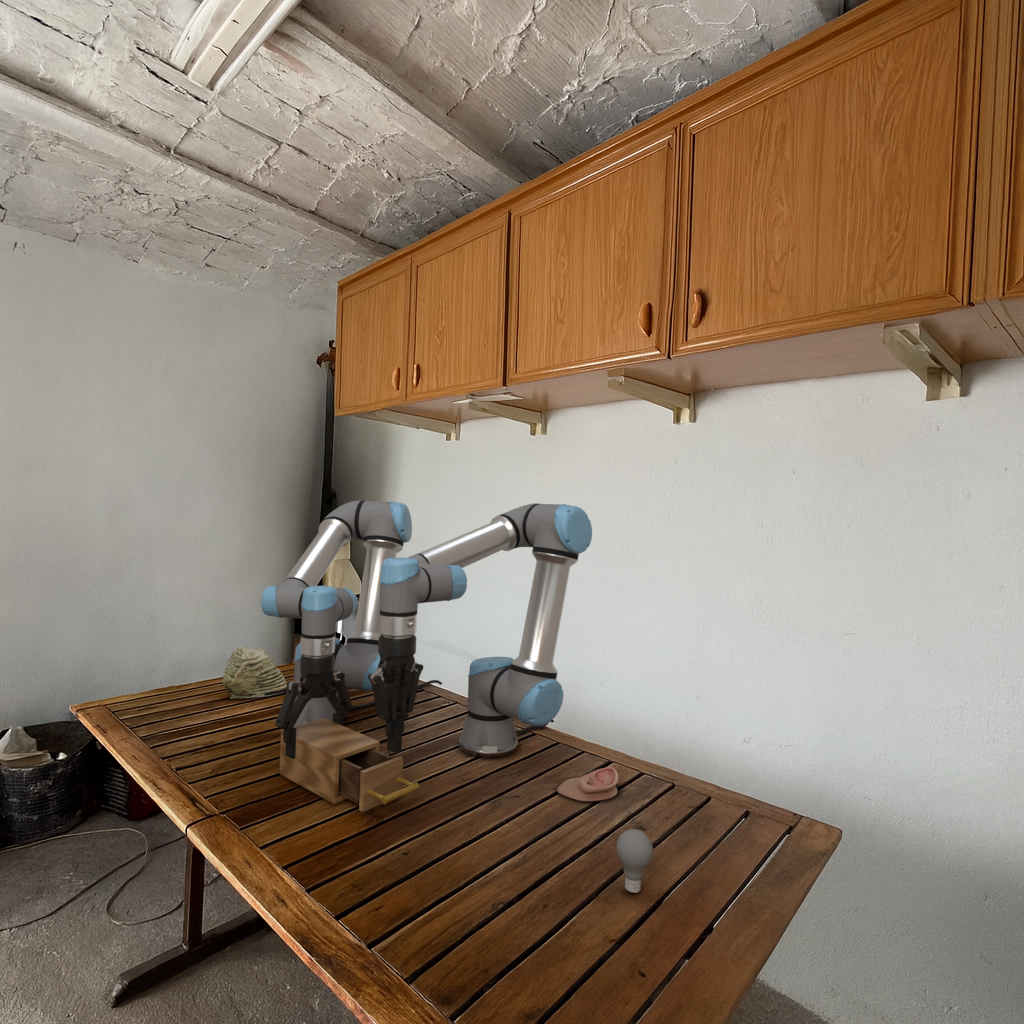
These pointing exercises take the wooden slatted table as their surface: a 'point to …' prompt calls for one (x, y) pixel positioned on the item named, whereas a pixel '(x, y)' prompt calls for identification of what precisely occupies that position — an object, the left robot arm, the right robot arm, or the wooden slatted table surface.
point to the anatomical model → (591, 785)
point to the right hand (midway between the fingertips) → (394, 750)
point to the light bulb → (634, 857)
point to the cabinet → (322, 756)
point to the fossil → (252, 674)
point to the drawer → (372, 779)
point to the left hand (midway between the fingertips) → (314, 749)
